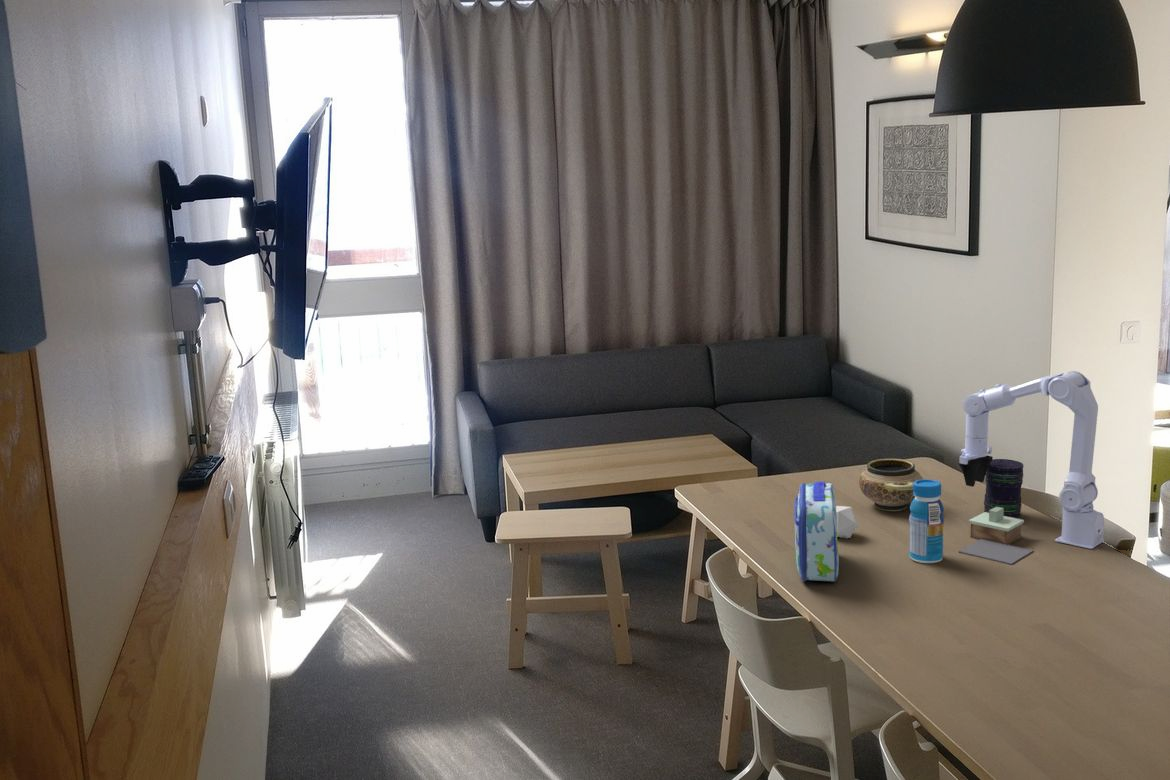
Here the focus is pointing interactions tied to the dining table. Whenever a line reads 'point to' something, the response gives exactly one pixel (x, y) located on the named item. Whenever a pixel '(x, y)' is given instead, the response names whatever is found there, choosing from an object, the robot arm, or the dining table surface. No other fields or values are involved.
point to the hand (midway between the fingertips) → (974, 483)
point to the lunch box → (816, 532)
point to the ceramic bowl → (889, 483)
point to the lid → (996, 520)
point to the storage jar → (1004, 486)
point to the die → (845, 521)
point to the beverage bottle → (926, 522)
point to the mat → (996, 551)
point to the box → (995, 534)
